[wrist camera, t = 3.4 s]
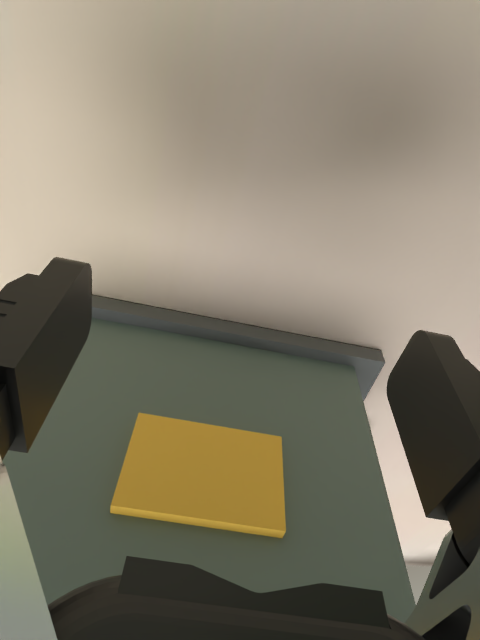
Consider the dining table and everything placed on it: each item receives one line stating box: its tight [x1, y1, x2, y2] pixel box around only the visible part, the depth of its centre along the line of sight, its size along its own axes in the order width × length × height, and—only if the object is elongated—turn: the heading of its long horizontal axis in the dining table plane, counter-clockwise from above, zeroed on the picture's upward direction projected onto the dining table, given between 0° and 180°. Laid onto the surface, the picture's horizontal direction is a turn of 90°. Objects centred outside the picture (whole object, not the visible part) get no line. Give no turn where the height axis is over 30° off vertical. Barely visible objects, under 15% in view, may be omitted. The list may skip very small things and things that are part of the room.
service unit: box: [2, 295, 416, 623], centre depth 19 cm, size 18×5×14 cm, turn 78°
